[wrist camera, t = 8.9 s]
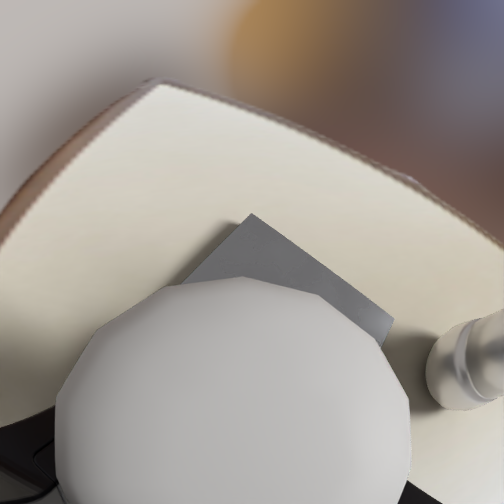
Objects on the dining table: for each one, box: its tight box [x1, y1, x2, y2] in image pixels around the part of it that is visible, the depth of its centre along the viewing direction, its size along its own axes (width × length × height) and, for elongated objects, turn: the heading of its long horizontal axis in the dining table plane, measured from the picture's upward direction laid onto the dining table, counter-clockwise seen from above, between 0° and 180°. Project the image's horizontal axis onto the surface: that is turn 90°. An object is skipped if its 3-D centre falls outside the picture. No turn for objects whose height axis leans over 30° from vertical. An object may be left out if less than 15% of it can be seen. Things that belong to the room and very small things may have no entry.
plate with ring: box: [180, 213, 394, 349], centre depth 13 cm, size 24×12×4 cm, turn 143°
